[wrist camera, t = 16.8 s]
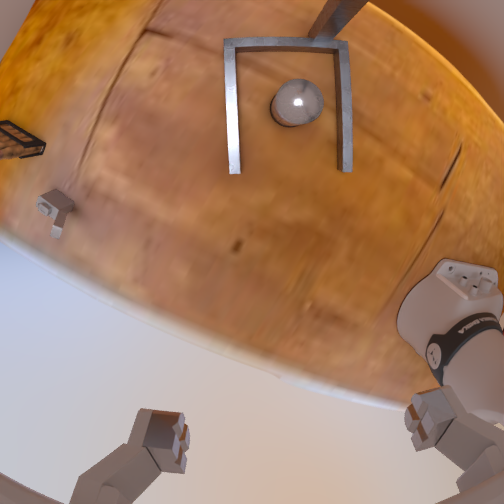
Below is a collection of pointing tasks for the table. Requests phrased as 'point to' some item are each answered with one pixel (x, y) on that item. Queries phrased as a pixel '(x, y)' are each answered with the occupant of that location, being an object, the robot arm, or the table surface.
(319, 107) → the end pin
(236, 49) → the grey metal bar frame
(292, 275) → the table surface
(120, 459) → the robot arm
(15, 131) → the ammunition clip
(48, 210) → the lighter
